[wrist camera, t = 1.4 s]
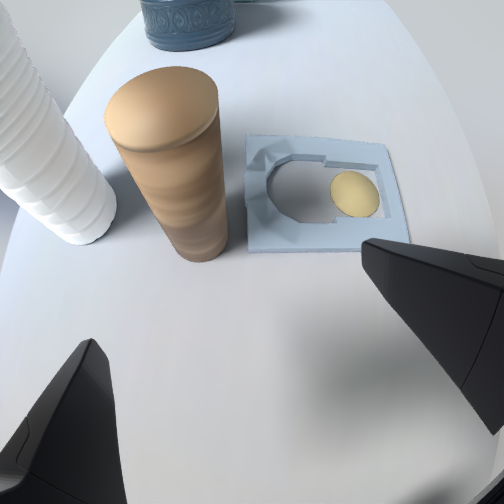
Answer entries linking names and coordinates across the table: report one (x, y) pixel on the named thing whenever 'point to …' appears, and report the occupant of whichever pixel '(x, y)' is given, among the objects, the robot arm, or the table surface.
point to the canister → (187, 23)
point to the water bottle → (46, 152)
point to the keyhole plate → (342, 191)
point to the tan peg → (175, 154)
